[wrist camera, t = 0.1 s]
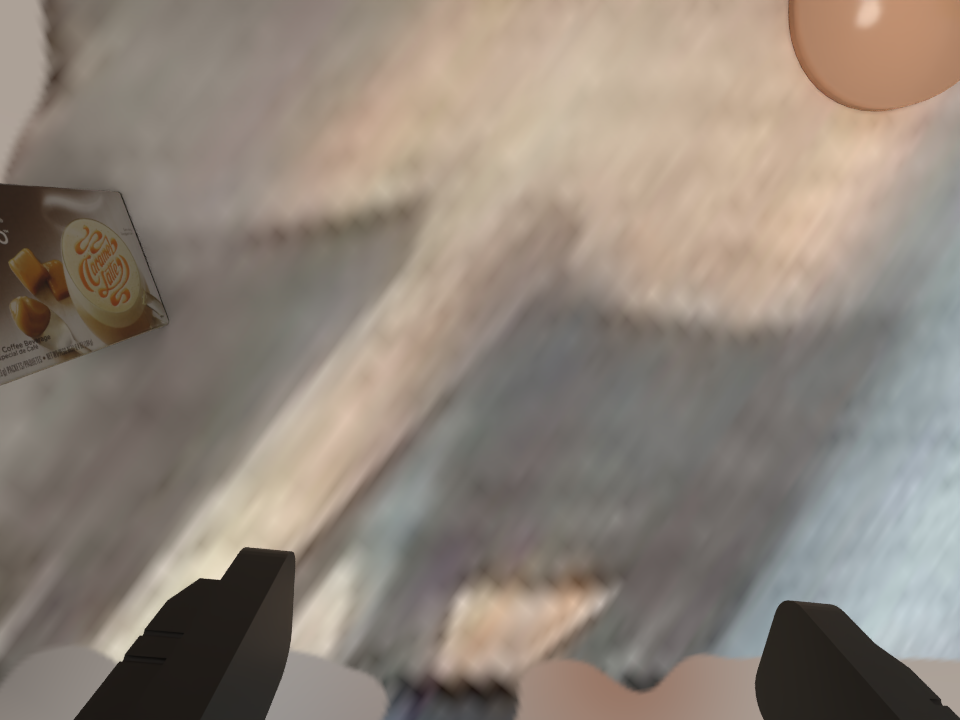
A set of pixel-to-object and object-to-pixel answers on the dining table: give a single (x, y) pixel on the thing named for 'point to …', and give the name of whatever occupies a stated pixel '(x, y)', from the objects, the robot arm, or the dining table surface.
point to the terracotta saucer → (877, 49)
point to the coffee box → (68, 277)
